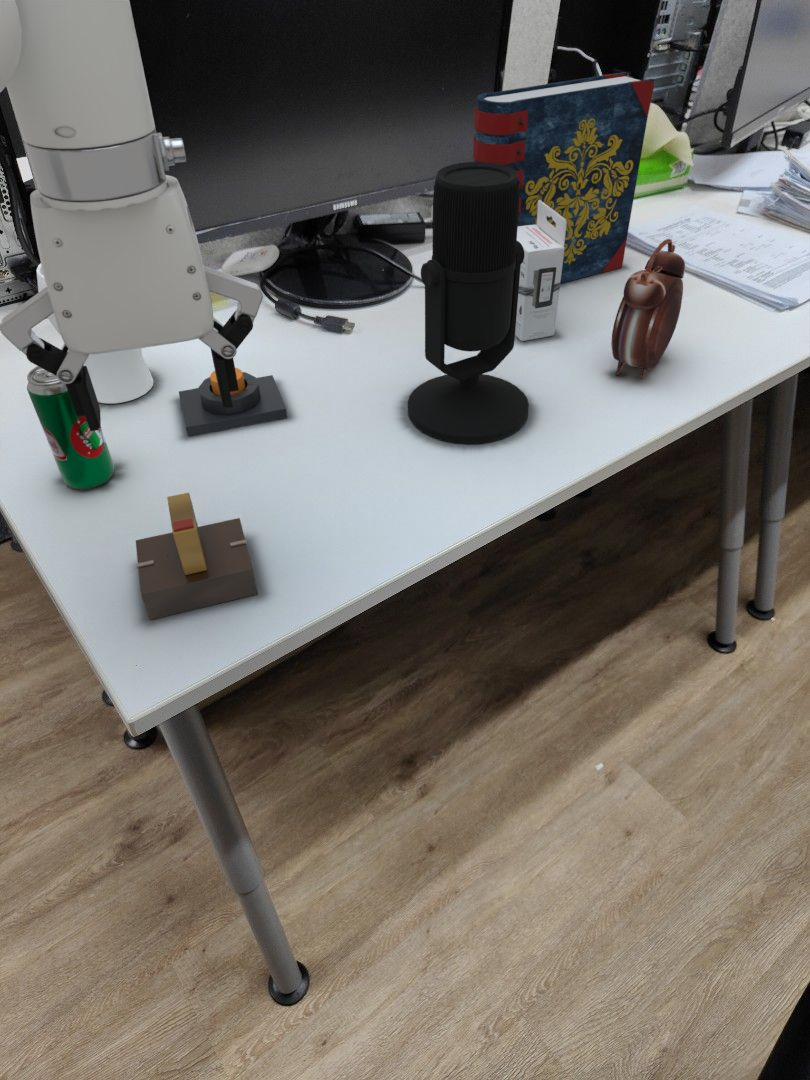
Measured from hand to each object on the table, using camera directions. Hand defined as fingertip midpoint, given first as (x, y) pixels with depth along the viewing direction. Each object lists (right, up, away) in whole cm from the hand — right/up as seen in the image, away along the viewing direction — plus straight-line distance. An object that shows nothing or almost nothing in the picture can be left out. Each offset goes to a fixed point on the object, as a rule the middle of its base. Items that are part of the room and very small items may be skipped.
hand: (162, 410), depth 58 cm
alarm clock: (+47, +11, +35) cm, 59 cm away
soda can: (-14, -4, +20) cm, 25 cm away
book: (+39, +29, +55) cm, 73 cm away
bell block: (-1, +5, +29) cm, 30 cm away
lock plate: (+1, -13, +9) cm, 16 cm away
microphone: (+25, +5, +28) cm, 38 cm away
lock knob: (+1, -11, +7) cm, 13 cm away
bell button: (-1, +7, +28) cm, 29 cm away
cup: (-16, +8, +34) cm, 38 cm away
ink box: (+34, +19, +44) cm, 59 cm away
